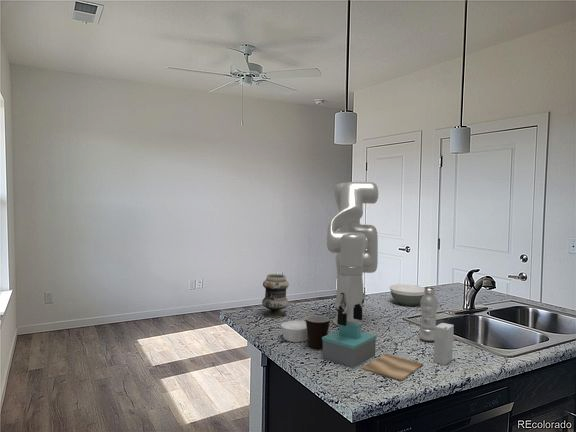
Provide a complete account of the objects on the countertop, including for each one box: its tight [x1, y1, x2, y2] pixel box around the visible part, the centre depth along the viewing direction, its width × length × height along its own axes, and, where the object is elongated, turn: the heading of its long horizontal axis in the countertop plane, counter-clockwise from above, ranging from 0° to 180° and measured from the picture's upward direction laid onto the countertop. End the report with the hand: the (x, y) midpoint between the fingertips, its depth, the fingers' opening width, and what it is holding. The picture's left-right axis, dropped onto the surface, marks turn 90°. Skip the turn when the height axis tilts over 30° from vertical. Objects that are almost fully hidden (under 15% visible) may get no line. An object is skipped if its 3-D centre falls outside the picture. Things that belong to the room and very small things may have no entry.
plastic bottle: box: [418, 286, 439, 342], centre depth 157 cm, size 6×7×20 cm
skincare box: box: [433, 322, 455, 366], centre depth 137 cm, size 6×4×12 cm
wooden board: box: [361, 353, 424, 382], centre depth 131 cm, size 16×13×1 cm
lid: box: [322, 321, 377, 349], centre depth 139 cm, size 14×12×6 cm
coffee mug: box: [305, 315, 331, 351], centre depth 150 cm, size 12×9×10 cm
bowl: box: [389, 283, 425, 307], centre depth 213 cm, size 19×19×8 cm
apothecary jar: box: [261, 273, 290, 319], centre depth 188 cm, size 12×12×18 cm
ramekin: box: [280, 320, 308, 343], centre depth 157 cm, size 11×11×5 cm
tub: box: [321, 338, 377, 368], centre depth 139 cm, size 14×12×6 cm
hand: (350, 322), depth 139 cm, fingers open, 9 cm apart
